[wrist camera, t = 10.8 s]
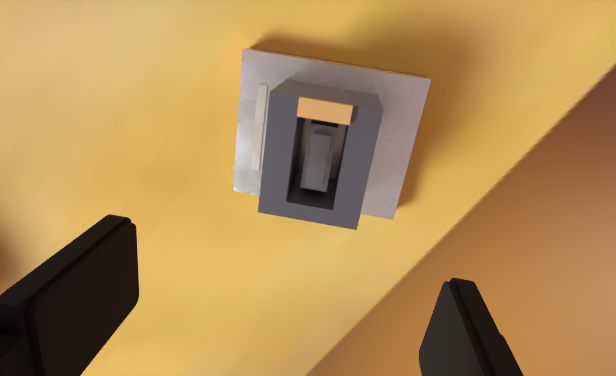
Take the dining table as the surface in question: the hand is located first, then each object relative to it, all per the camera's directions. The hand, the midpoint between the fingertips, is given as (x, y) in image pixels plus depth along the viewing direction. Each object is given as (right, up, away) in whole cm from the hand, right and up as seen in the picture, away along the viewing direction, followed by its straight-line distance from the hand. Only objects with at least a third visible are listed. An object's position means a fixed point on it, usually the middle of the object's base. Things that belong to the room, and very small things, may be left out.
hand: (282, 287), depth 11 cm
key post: (+2, +7, +16) cm, 17 cm away
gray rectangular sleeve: (+2, +6, +14) cm, 16 cm away
